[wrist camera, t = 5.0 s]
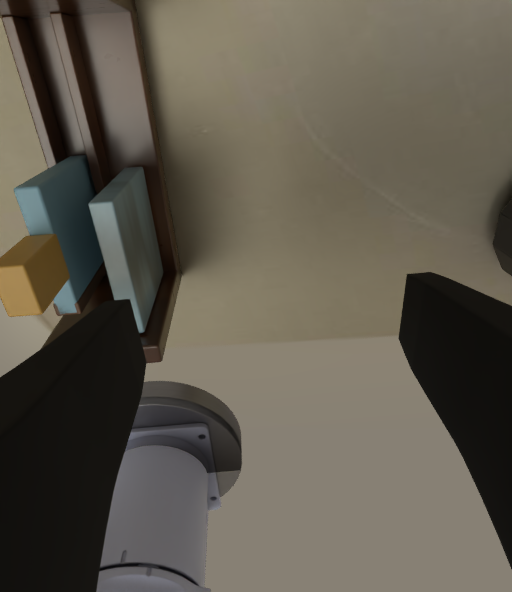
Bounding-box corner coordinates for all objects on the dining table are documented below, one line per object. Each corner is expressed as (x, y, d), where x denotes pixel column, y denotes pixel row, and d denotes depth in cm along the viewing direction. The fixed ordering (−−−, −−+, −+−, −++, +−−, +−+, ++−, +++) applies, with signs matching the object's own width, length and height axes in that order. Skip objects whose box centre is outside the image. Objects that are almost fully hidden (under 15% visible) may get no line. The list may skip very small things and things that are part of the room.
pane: (117, 256, 19) (58, 356, 12) (95, 258, 19) (25, 359, 12) (91, 154, 17) (2, 211, 10) (66, 155, 17) (-38, 214, 10)
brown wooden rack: (182, 276, 21) (162, 362, 15) (97, 283, 21) (42, 372, 15) (133, -12, 15) (66, -63, 9) (13, -4, 15) (-136, -50, 9)
